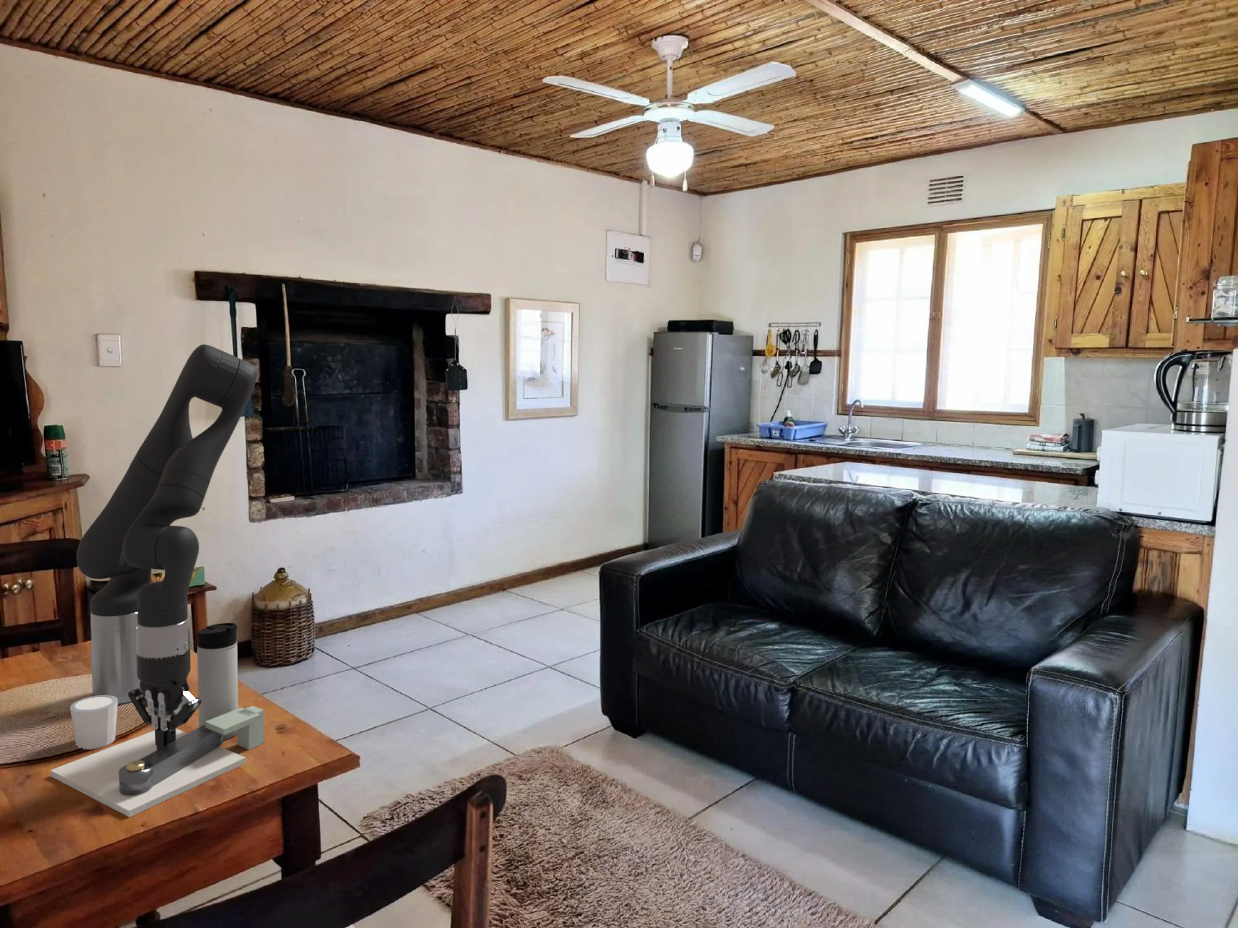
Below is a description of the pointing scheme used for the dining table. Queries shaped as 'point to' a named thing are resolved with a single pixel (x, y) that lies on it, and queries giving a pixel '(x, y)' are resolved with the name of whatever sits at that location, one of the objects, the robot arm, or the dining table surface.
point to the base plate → (102, 768)
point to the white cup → (94, 721)
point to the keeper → (241, 725)
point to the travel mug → (217, 672)
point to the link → (167, 760)
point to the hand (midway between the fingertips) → (165, 748)
